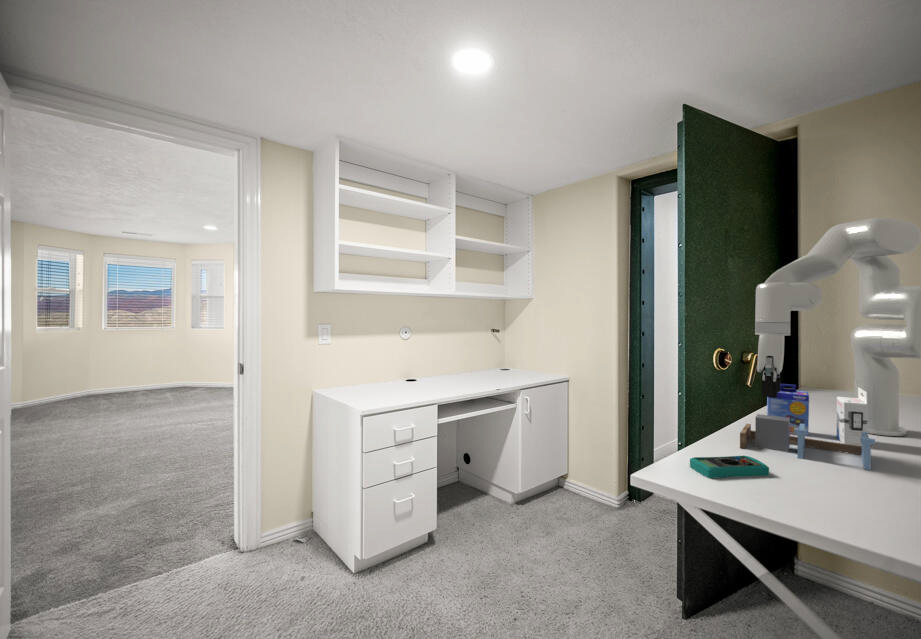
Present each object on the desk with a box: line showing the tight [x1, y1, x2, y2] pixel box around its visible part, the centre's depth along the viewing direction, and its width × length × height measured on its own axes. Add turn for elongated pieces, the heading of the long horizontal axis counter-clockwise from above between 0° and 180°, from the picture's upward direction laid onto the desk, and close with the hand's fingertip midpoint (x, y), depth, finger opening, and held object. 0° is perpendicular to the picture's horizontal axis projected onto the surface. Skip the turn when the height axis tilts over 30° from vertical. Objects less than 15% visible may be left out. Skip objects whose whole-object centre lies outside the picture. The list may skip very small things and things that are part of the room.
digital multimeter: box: [689, 455, 770, 479], centre depth 98 cm, size 7×15×3 cm, turn 94°
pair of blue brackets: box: [794, 424, 876, 471], centre depth 105 cm, size 12×14×7 cm
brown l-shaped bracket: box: [739, 423, 861, 456], centre depth 110 cm, size 13×25×4 cm, turn 49°
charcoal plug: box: [754, 413, 791, 453], centre depth 113 cm, size 4×7×8 cm, turn 49°
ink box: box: [836, 387, 867, 446], centre depth 116 cm, size 8×5×15 cm, turn 149°
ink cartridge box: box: [766, 383, 810, 437], centre depth 127 cm, size 10×6×14 cm, turn 54°
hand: (771, 394), depth 113 cm, fingers open, 9 cm apart
